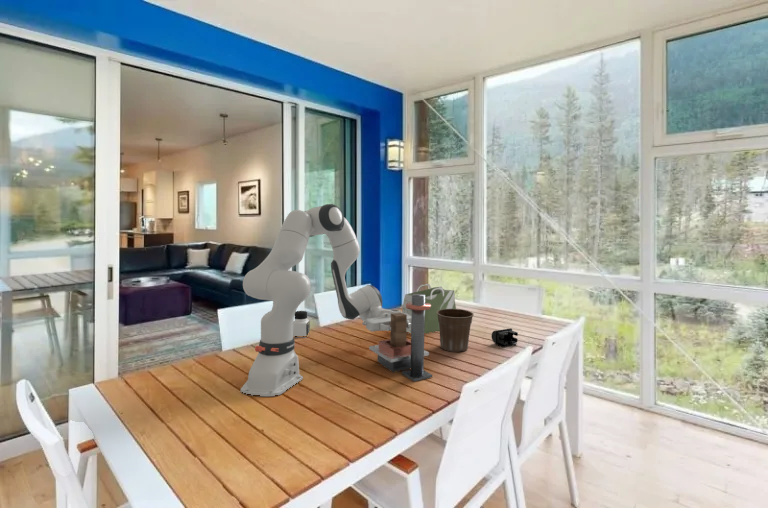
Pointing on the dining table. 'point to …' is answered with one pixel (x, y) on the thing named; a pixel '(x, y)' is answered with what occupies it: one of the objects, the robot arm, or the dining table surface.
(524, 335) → the dining table surface
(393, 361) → the bracket
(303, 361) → the dining table surface
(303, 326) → the medicine bottle
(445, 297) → the grocery bag
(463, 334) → the plant pot
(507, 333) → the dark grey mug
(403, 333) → the tall wooden post
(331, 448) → the dining table surface
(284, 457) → the dining table surface
